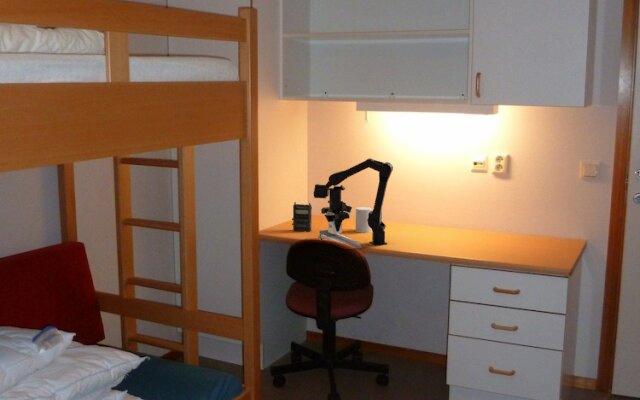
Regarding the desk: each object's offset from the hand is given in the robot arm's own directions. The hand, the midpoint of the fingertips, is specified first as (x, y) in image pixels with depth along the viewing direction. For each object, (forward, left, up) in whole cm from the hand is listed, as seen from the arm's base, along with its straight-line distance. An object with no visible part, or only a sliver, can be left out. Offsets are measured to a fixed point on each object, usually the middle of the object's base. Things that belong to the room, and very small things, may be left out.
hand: (335, 230), depth 351 cm
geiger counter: (+28, +5, -6) cm, 29 cm away
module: (0, 0, -1) cm, 1 cm away
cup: (+14, -24, -6) cm, 29 cm away
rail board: (-5, 0, -5) cm, 7 cm away
